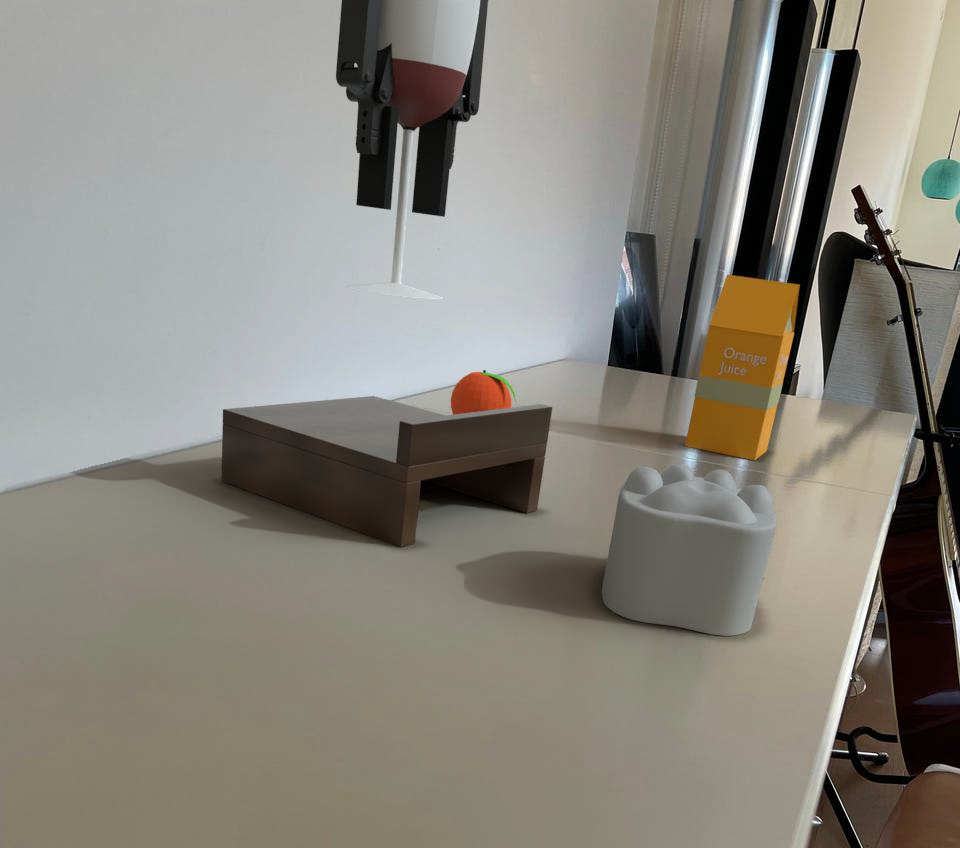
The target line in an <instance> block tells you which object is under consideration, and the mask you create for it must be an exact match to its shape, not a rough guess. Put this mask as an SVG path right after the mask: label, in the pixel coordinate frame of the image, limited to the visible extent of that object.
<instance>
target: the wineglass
mask: <svg viewBox="0 0 960 848" xmlns="http://www.w3.org/2000/svg"><path fill="white" fill-rule="evenodd" d="M479 8H480V0H382V2H381V12H380V23H379V34H378V45H377V51H378V50H382V49H384V48H385V47H387V46H389V45H390V44H391V43H392V63H393V76H394V83H395V84H394V88H393V92H392V95H391V99H390V101H389V102H388V103H386V104H385V106H392V107H397V108H399V113H398V125H399V126H400V127H401V128H402V130H403V131H402V143H401V144H402V145H401V154H400V155H401V156H400V167H399V180H398V194H397V204H396V205H397V206H396V217H395V220H396V221H395V228H394V229H395V231H394V233H395V234H394V241H393V254H392V258H393V259H392V267H391V269H392V270H391V280H390V281H389V282H377V283H376V282H375V283H363V284H350V285H346V286H345V287H346V288H347V289H349V290H354V291H358V292H364V293H369V294H374V295H381V296H389V297H397V298H406V299H418V300H433V301H434V300H436V301H439V300H444V299H445V297H443V296H441V295H437V294H435V293H432V292H429V291H425V290H422V289H420V288H417V287H413V286H410V285H407V284H404V283H402V279H403V278H402V276H403V265H404V254H405V243H406V242H405V240H406V232H407V231H406V230H407V229H406V228H407V218H408V206H409V194H410V183H411V170H412V160H413V159H412V158H413V157H412V156H413V146H414V137H415V136H414V134H415V131H416V130H417V129H419V127H420V126H422V125H424V124H426V123H428V122H430V121H432V120H434V119H436V118H438V117H440V116H441V115H443V114H444V113H446V112H447V111H448V110H449V109H450V108H451V107H452V106H453V105H454V104H455V103H456V101H457V100H458V98H459V96H460V94H461V91H462V88H463V85H464V82H465V79H466V75H467V72H468V68H469V64H470V60H471V56H472V51H473V46H474V40H475V34H476V28H477V22H478V16H479ZM375 78H376V79H377V76H375Z"/></svg>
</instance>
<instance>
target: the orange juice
mask: <svg viewBox="0 0 960 848" xmlns="http://www.w3.org/2000/svg"><path fill="white" fill-rule="evenodd" d="M800 286H801V284H798V283H791V282H783V281H777V280H769V279H764V278H763V279H762V278H755V277H747V276H740V275H734V274H733V275H732V274H726V276H725V280H724V282H723V285H722V288H721V291H720V294H719V296H718V299H717V302H716V304H715V307H714V311H713V313H712V316H711V319H710V322H709V324H708V330H707V335H706V338H705V339H706V340H705V344H704V350H703V354H702V355H703V356H702V359H701V365H700V369H699V374H698V377H697V382H696V387H695V392H694V399H693V404H692V408H691V414H690V419H689V423H688V429H687V434H686V439H685V444H684V447H688V448H692V449H693V448H694V449H698V450H703V451H707V452H713V453H717V454H722V455H726V456H733V457H736V458H737V457H738V458H742V459H747V460H750V461H756V460H758V458H760V457H761V456H762V455H764V454H765V453H766V452H767V451H768V448H769V447H768V446H769V443H770V440H771V439H770V438H771V435H772V430H773V426H774V421H775V417H776V413H777V408H778V405H779V402H780V398H781V393H782V389H783V384H784V378H785V376H786V375H785V374H786V371H787V366H788V361H789V358H790V353H791V350H792V344H793V341H794V336H795V327H796V326H795V325H796V317H797V309H798V302H799V295H800V294H799V293H800Z"/></svg>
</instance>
